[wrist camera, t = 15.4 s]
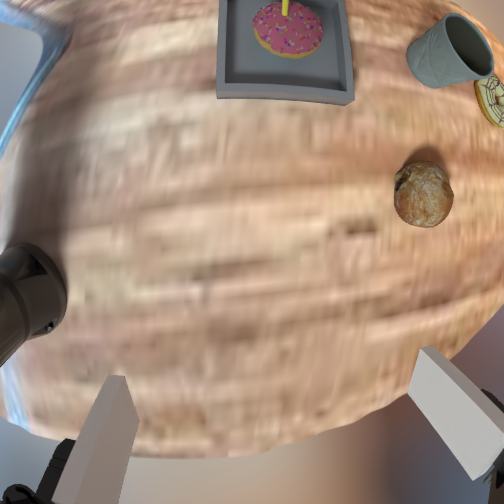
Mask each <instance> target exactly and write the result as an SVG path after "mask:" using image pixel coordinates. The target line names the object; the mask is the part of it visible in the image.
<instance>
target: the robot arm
mask: <svg viewBox="0 0 504 504" xmlns="http://www.w3.org/2000/svg"><path fill="white" fill-rule="evenodd" d="M65 311H66V292H65V287H64V284H63V281H62V278H61V276H60V273H59V271H58V269H57V268H56V266H55V264H54V263H53V262H52V260H51V259H50V258H49V257H48V256H47V255H46V254H45V253H44V252H43V251H42V250H41V249H39V248H38V247H36V246H34V245H31V244H26V243H21V244H17V245H14V246H12V247H10V248H8V249H6V250H5V251H4V252H3V253H2V254H1V255H0V367H1V366H2V365H3V364H4V363H5V362H6V361H7V360H8V359H9V358H10V356H11V355H12V354H13V353H14V352H15V351H16V350H17V349H18V348H19V347H20V346H21V345H22V344H23V343H24V342H25V341H27V340H30V339H34V338H37V337H40V336H43V335H46V334H48V333H50V332H51V331H53V330H54V329H55V328H56V327H57V326H58V325H59V324H60V322H61V321H62V319H63V317H64V315H65ZM407 393H408V394H409V396H410V397H411V398H412V399H413V401H414V402H415V403H416V405H417V406H418V407H419V409H420V410H421V411H422V412H423V414H424V415H425V416H426V417H427V419H428V420H429V422H430V423H431V424H432V426H433V427H434V428H435V430H436V431H437V432H438V434H439V435H440V436H441V437H442V439H443V440H444V442H445V443H446V444H447V446H448V447H449V448H450V450H451V451H452V452H453V454H454V455H455V456H456V458H457V459H458V461H459V462H460V463H461V465H462V466H463V467H464V469H465V470H466V472H467V473H468V474H469V476H470V477H471V479H472V480H475V479H476V478H478V477H479V476H481V475H483V474H484V473H485V472H486V471H487V470H488V469H489V467H490V466H491V465H492V464H493V465H494V466H495V468H494V469H493V470H492V471H491V472H490V474H489V475H488V476H487V477H486V478H485V480H484V482H483V483H484V484H485V483H486V482H487V481H488V480H489V479H490V478H491V480H490V481H489V484H491V486H490V494H489V501H488V504H504V406H503V404H502V403H501V402H500V401H498V399H497V398H496V397H495V396H494V395H493V394H492V393H489V392H488V391H486V390H484V389H481V390H480V389H479V388H477V387H476V386H475V385H474V384H473V383H472V382H471V381H470V380H469V379H468V378H467V377H466V376H465V375H464V374H463V373H462V372H460V371H459V370H458V369H457V368H456V367H455V366H454V365H453V364H452V363H451V362H450V361H449V360H448V359H447V358H446V357H444V356H443V355H442V354H441V353H440V352H439V351H438V350H437V349H436V348H435V347H433V346H432V345H431V346H428V347H424V348H420V351H419V355H418V359H417V362H416V365H415V369H414V372H413V375H412V379H411V382H410V385H409V388H408V391H407ZM139 421H140V420H139V417H138V415H137V412H136V409H135V406H134V403H133V401H132V398H131V395H130V392H129V389H128V386H127V383H126V379H125V376H118V375H108V376H107V378H106V380H105V382H104V384H103V386H102V388H101V390H100V392H99V394H98V396H97V398H96V400H95V402H94V404H93V406H92V408H91V410H90V412H89V414H88V417H87V419H86V421H85V423H84V425H83V427H82V429H81V431H80V434H79V436H78V438H77V440H71V439H67V438H66V439H65V440H63V441H62V442H61V443H60V444H59V445H58V446H57V448H56V450H55V452H54V454H53V456H52V459H51V460H50V462H49V466H48V467H47V469H46V471H45V473H44V475H43V478H42V480H41V482H40V484H39V487H38V489H37V491H36V493H34V492H33V491H32V490H31V489H30V488H28V487H27V486H25V485H22V484H14V485H12V486H10V487H8V488H7V489H6V490H5V492H4V494H3V501H0V504H118V502H119V498H120V493H121V489H122V485H123V481H124V476H125V473H126V469H127V465H128V461H129V457H130V454H131V450H132V446H133V443H134V439H135V435H136V432H137V428H138V425H139Z"/></svg>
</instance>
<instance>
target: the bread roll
mask: <svg viewBox="0 0 504 504" xmlns="http://www.w3.org/2000/svg"><path fill="white" fill-rule="evenodd" d="M395 181H396V184H395V190H394V206H395V209H396V211H397V213H398V215H399V216H400V218H401V219H402V220H403V221H405V222H406V223H408V224H410V225H414V226H418V227H424V228H426V227H427V228H428V227H434V226H437V225H438V224H440V223H441V222H442V221H443V220H445V218H446V217H447V216H448V214H449V212H450V210H451V207H452V204H453V198H454V193H453V191H452V189H451V187H450V184H449V180H448V178H447V176H446V175H445V173H444V172H443V171H442V169H440V168H439V167H438V166H437V165H436V164H434V163H432V162H429V161H417V162H414V163H411V164H408V165H406V166H405V168H404V169H403V170H402V171H399V172H398V173H397V174H396V176H395Z"/></svg>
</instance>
